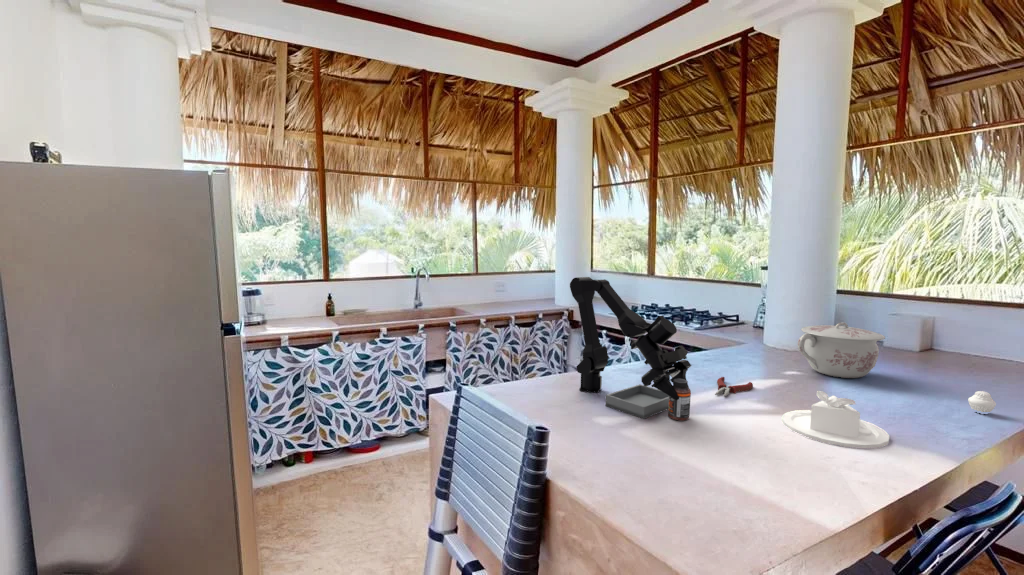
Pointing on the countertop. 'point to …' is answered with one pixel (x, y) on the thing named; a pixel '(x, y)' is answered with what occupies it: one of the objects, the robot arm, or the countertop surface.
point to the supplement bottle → (680, 401)
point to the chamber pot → (840, 349)
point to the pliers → (731, 387)
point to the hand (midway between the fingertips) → (683, 397)
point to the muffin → (982, 402)
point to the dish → (835, 424)
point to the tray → (638, 401)
